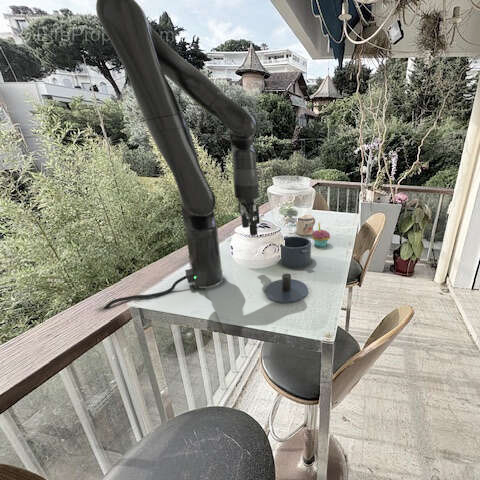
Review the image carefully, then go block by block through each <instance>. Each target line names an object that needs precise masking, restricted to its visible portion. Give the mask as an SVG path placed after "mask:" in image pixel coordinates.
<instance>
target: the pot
mask: <svg viewBox="0 0 480 480" xmlns="http://www.w3.org/2000/svg"><path fill="white" fill-rule="evenodd" d="M283 237H284V240H285V246H283V245H282V244H281V245H280V247H281V259H280V261H279V260H278V263H279V264H280V265H281V266H284V267H286V268H292V269H294V268H302V267H305V266H307V265H309V264H311V260H312V257H311V256H312V241H311V239H309V238H307V237H304V236H288V235H286V236H283Z"/></svg>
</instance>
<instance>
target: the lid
mask: <svg viewBox="0 0 480 480" xmlns="http://www.w3.org/2000/svg"><path fill="white" fill-rule="evenodd" d="M308 291H309V288H308V285H306V283H305V282H303V281H301V280H298V279H293V278H292V275H291V274H290V273H282V275H281V279H277V280H274V281H273V282H270V283H269V284H268V285H267V286H266V287H265V290H264V293H265V296H266V298H267V299H269V300H270V301H272V302H275V303H278V304H293V303H296V302H300V301H301V300H303V299H305V298H306V296H307V295H308Z"/></svg>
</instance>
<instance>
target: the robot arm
mask: <svg viewBox="0 0 480 480" xmlns="http://www.w3.org/2000/svg"><path fill="white" fill-rule="evenodd" d="M95 3H96V4H95V7H96V8H95V11H96V16H97V19H98V22H99V24H100V26H101V27H102V29H103V31H104V32H105V34H106V36H107V37H108V39H109V41H110V43H111V45H112V46H113V48H114V50H115V52H116V54H117V56H118V58H119V60H120V62H121V63H122V65H123V68H124V70H125V72H126V74H127V77H128V80H129V83H130V85H131V88H132V89H131V90H132V92H133V94H134V97H135V99H136V102H137V106H138V108H139V110H140V113H141V115H142V117H143V121H144V122H145V125H146V127H147V129H148V131H149V134H150V136H151V139H152V140H153V142H154V143H155V145H156V147H157V149H158V151H159V153H160V154H161V156H162V158H163V159H164V162H165V163H166V164H167V166H168V168H169V169H170V171H171V173H172V175H173V178H174V181H175V183H176V187H177V190H178V192H179V204H180V209H181V216H182V222H183V227H184V232H185V239H186V244H187V250H188V263H189V268H188V269H185V270H184V271H185V275H184V276H182V277H180V278H179V279H176V281H174V283H173V284H172V285H171V287H170V288H168V289H166V290H164V291H160V292H155V293H149V294H136V295H130V296H123V297H119V298H114V299H112V300H111V301H109V302H108V303H107V304H106V305H105V306H104V307H103V308H102V309H103V310H107V309H109V308H110V307H111V306H112V305H113V304H116V303H119V302H123V301H128V300H134V299H148V298H149V299H150V298H153V297H159V296H163V295H166V294H168V293H170V292H172V291H174V290H175V288H176V286H177V285H178V284H179V283H181V282H182V281H184V280H187V283H188V284H191V283H192V285H193V287H194V289H195V290H198V289H201V290H203V289H205V290H206V289H207V288H208V289H209V288H213V287H216V286H219V285H220V284H221V283H222V282H223V280H224V276H223V272H224V271H223V267H222V259H221V250H220V240H219V231H218V230H219V229H218V224H217V221H216V216H215V211H214V210H215V208H216V203H217V199H216V195H215V194H214V192H213V190H212V188H211V185H210V184H209V182H208V180H207V178H206V175H205V174H204V171H203V170H202V167H201V164H200V162H199V158H198V154H197V151H196V150H197V149H196V147H195V144H194V140H193V138H192V134H191V132H190V128H189V126H188V123H187V121H186V117H185V115H184V112H183V109H182V108H181V106H180V103H179V100H178V99H177V97H176V95H175V92H174V91H173V88H172V87H171V85H170V83H169V81H168V79H169V80H170V81H171V82H172V83H173V84H174V85H176V86H177V88H179V89H180V90H181V91H182V92H183V93H184V94H186V95H187V96H188V98H190V99H191V100H192V101H193V102H194V103H195V104H196V105H198V106H199V107H201V108H202V109H203V110H204V111H206V113H207V114H209V115H210V116H212V117H213V118H216V119H217V120H218V121H220V122H221V123H222V124H223V125H224V126H225V127H226V128H227V129H228V136H229V141H230V146H231V147H230V148H231V158H232V179H233V189H234V197H235V198H236V199H237V202H238V204H237V205H238V214H239V215H240V217H241V226H242V228H243V229H245V228H246V229H247V228H249V235H250V236H251V237H252V236H257V235H258V224H260V211H259V210H260V209H259V205H258V204H256V203H255V199H259V197H260V185H259V173H258V167H257V166H258V165H257V154H256V150H255V149H254V144H253V143H254V142H253V136H254V135H255V133H256V132H257V123H256V120H255V118H254V117H253V116H252V114H250V113H249V112H248V111H247V110H246V109H245V108H243V106H241V105H239V104H238V103H237V102H236V101H235V100H233V99H231V98H230V97H229V96H228V95H227V94H226V93H225V91H223V90H222V89H221V88H220V87H218V85H216V84H215V82H214V81H212V80H211V79H210V78H209V77H208V76H207V75H205V74H204V73H203V72H202V71H200V70H199V69H198V68H197V67H195V66H194V65H193V64H191V63H190V62H188V61H187V60H186V59H185V58H183V57H182V56H181V55H180V54H179V53H177V52H176V51H175V50H174V49H173V48H172V47H171V46H170V45H169V44H168V43H167V42H166V41H165V40H164V39H163V38H162V37H161V35H159V33H158V32H157V31H156V30H155V29H154V28H153V26H152V25H151V24H150V22H149V20H148V17H147V15H146V13H145V11H144V10H143V8H142V7H141V5H140V4H139V3H138V2H137V1H136V0H96V2H95ZM166 77H167V78H166Z"/></svg>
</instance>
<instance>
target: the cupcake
mask: <svg viewBox="0 0 480 480" xmlns="http://www.w3.org/2000/svg"><path fill="white" fill-rule="evenodd" d="M311 239H312V240H313V241H314V244H315V246H316V247H319V248H324V247H326V246H327V243H328V241H329V240H330V239H331V234H330V233H329V232H328V231H327V230H325V229H321V223H320V222H318V229H317V230H315V231H313V233H312V234H311Z"/></svg>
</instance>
